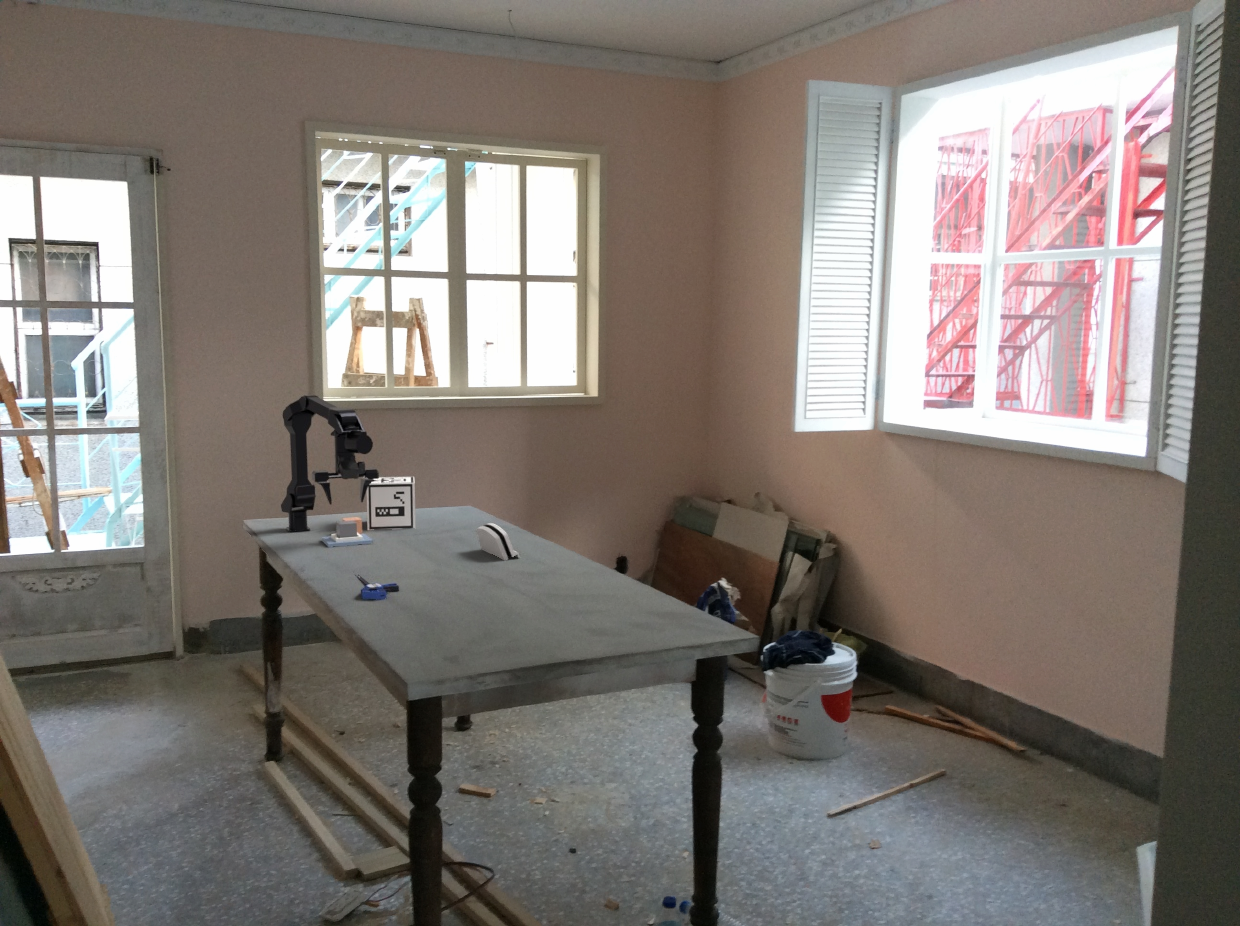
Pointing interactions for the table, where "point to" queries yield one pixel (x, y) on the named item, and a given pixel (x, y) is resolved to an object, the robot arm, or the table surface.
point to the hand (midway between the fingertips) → (346, 503)
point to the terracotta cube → (357, 520)
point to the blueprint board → (346, 540)
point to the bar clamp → (376, 590)
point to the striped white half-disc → (495, 541)
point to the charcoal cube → (346, 529)
